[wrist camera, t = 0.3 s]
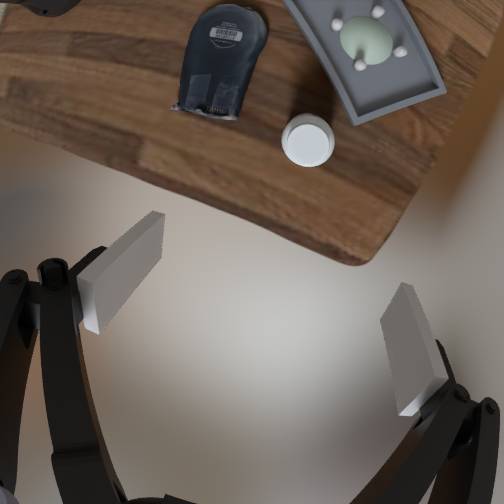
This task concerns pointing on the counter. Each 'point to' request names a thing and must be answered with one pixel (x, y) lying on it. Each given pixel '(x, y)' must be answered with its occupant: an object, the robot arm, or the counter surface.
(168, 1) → the counter surface
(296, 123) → the pill bottle
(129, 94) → the counter surface
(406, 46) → the tray
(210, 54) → the electronic device
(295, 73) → the counter surface
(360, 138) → the counter surface
